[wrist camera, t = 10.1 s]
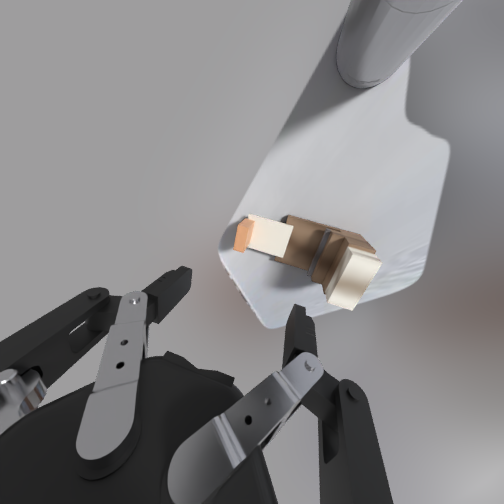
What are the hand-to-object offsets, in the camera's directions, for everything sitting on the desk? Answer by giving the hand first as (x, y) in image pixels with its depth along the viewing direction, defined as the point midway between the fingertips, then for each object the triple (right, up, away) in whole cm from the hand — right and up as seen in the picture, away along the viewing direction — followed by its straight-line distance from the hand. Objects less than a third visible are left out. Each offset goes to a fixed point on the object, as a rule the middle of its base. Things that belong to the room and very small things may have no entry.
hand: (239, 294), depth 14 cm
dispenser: (+15, +4, +24) cm, 28 cm away
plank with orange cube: (+4, +7, +24) cm, 25 cm away
